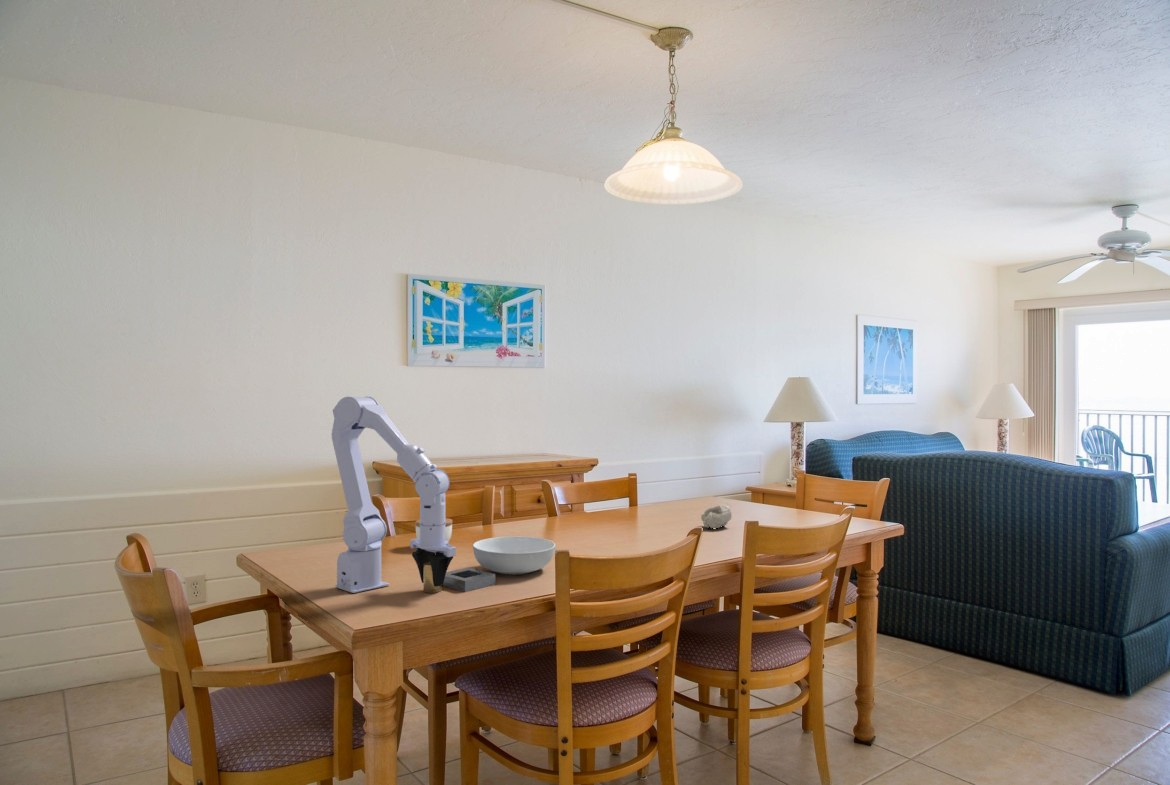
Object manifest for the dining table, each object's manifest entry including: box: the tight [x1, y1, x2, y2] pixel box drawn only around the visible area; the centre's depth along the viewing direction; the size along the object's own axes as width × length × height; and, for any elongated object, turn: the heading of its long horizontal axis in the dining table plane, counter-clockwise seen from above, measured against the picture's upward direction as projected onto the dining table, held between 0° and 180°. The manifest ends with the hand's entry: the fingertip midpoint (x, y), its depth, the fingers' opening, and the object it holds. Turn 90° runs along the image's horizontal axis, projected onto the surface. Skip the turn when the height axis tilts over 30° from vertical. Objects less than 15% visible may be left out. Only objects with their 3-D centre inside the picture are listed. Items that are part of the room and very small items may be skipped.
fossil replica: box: [700, 503, 733, 529], centre depth 251 cm, size 12×8×10 cm
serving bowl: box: [472, 535, 556, 576], centre depth 189 cm, size 21×21×7 cm
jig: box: [443, 567, 496, 593], centre depth 176 cm, size 9×10×2 cm
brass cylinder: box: [422, 562, 442, 594], centre depth 170 cm, size 4×4×6 cm
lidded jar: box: [414, 517, 454, 542], centre depth 219 cm, size 11×11×9 cm
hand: (432, 583), depth 170 cm, fingers closed on brass cylinder, 4 cm apart
